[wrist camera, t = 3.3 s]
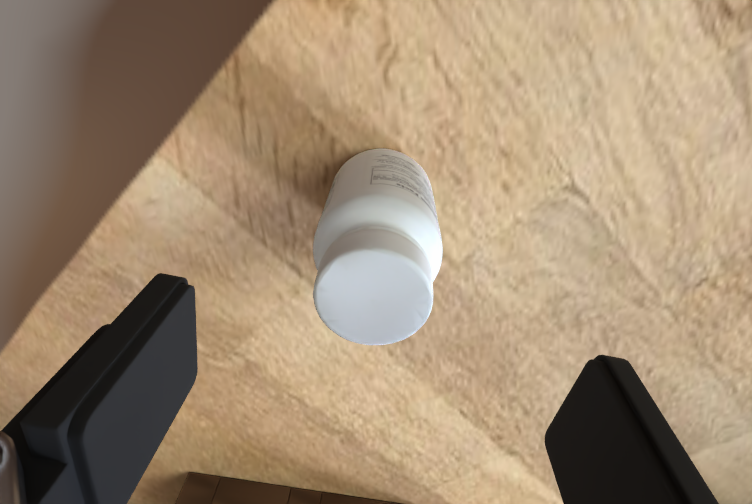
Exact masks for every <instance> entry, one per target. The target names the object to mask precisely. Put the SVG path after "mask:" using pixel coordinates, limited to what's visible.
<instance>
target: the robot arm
mask: <svg viewBox="0 0 752 504" xmlns="http://www.w3.org/2000/svg"><path fill="white" fill-rule="evenodd" d="M196 376H197V340H196V310H195V289H194V286H191V285H188V281H187V279H186V278H183V277H178V276H172V275H167V274H162V273H160V274H157V275H156V276H155V277H154V278H153V279H152V280H151V281H150V282H149V283H148V284H147V285H146V287H145V288H144V289H143V290H142V291H141V292H140V293H139V294H138V295H137V296H136V297H135V298H134V299H133V301H132V302H131V303H130V304H129V305H128V306H127V307H126V308H125V309H124V310H123V311H122V312H121V313H120V315H119V316H118V317H117V318H116V319H115V320H114V321H113V322H112V323H111V324H107V325H104V326H102V327H101V328H99V329H98V330H97V331H96V332H95V333H94V334H93V335H92V336H91V337H90V338H89V339H88V340H87V341H86V342H85V343H84V345H83V346H82V347H81V348H80V349H79V350H78V351H77V352H76V353H75V354H74V355H73V356H72V357H71V358H70V359H69V360H68V361H67V362H66V363H65V364H64V366H63V367H62V368H61V369H60V370H59V371H58V372H57V373H56V374H55V375H54V376H53V377H52V378H51V379H50V380H49V381H48V382H47V383H46V384H45V385H44V387H43V388H42V389H41V390H40V391H39V392H38V393H37V394H36V395H35V396H34V397H33V398H32V399H31V400H30V401H29V402H28V403H27V404H26V405H25V406H24V408H23V409H22V410H21V411H20V412H19V413H18V414H17V415H16V416H15V417H14V418H13V419H12V420H11V421H10V422H9V423H8V424H7V425H6V426H5V427H4V429H3V430H2V431H0V504H127V502H128V501H129V499H130V497H131V495H132V493H133V492H134V490H135V488H136V486H137V484H138V483H139V481H140V479H141V477H142V476H143V474H144V472H145V470H146V468H147V467H148V465H149V463H150V461H151V459H152V458H153V456H154V454H155V452H156V451H157V449H158V447H159V445H160V443H161V442H162V440H163V438H164V436H165V434H166V433H167V431H168V429H169V427H170V426H171V424H172V422H173V420H174V418H175V417H176V415H177V413H178V411H179V409H180V408H181V406H182V404H183V402H184V401H185V399H186V397H187V395H188V393H189V392H190V390H191V388H192V386H193V384H194V382H195V379H196ZM545 446H546V450H547V453H548V456H549V459H550V462H551V465H552V468H553V472H554V475H555V478H556V481H557V484H558V487H559V490H560V493H561V497H562V500H563V503H564V504H719V503H718V502H717V500H716V499H715V497H714V496H713V494H712V492H711V491H710V489H709V488H708V486H707V484H706V483H705V481H704V480H703V478H702V477H701V475H700V473H699V472H698V470H697V469H696V467H695V465H694V464H693V462H692V461H691V459H690V458H689V456H688V454H687V453H686V451H685V450H684V448H683V446H682V445H681V443H680V442H679V440H678V439H677V437H676V435H675V434H674V432H673V431H672V429H671V427H670V426H669V424H668V423H667V421H666V420H665V418H664V416H663V415H662V413H661V412H660V410H659V408H658V407H657V405H656V404H655V402H654V401H653V399H652V397H651V396H650V394H649V393H648V391H647V389H646V388H645V386H644V385H643V383H642V382H641V380H640V378H639V377H638V375H637V374H636V372H635V371H634V369H633V367H632V366H631V364H630V363H629V362H628V361H627V360H625V359H621V358H616V357H611V356H605V355H598V356H597V357H596V358H595V359H594V360H589V361H588V362H587V363H586V365H585V367H584V368H583V370H582V372H581V373H580V375H579V377H578V379H577V380H576V382H575V384H574V385H573V387H572V389H571V390H570V392H569V394H568V395H567V397H566V399H565V400H564V402H563V404H562V406H561V407H560V409H559V411H558V412H557V414H556V416H555V417H554V419H553V421H552V422H551V424H550V426H549V427H548V429H547V431H546V434H545Z"/></svg>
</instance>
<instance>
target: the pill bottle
mask: <svg viewBox="0 0 752 504" xmlns="http://www.w3.org/2000/svg"><path fill="white" fill-rule="evenodd" d="M442 252H443V250H442V239H441V233H440V229H439V224H438V219H437V213H436V208H435V202H434V197H433V192H432V188H431V184H430V181H429V179H428V176H427V175H426V173H425V171H424V170H423V168H422V167H421V166H420V165H419V164H418V163H417V162H416V161H415V160H413V159H412V158H411V157H409V156H407V155H406V154H403V153H401V152H399V151H395V150H391V149H385V148H379V149H371V150H367V151H364V152H361V153H359V154H357V155H355V156H353V157H352V158H350V159H349V160H348V161H347V162H346V163H344V165H343V166H342V167H341V168H340V170H339V171H338V173H337V174H336V176H335V178H334V181H333V184H332V187H331V189H330V192H329V195H328V198H327V201H326V204H325V207H324V209H323V212H322V215H321V218H320V220H319V223H318V226H317V230H316V233H315V236H314V242H313V255H314V261H315V264H316V268H317V270H318V273H317V276H316V280H315V285H314V291H313V298H314V304H315V307H316V310H317V312H318V314H319V317H320V318H321V319H322V321H323V322H324V323H325V324H326V326H327V327H328V328H329V329H330V330H332V331H333V332H335V333H336V334H337V335H339V336H340V337H342V338H344V339H346V340H349V341H352V342H355V343H359V344H365V345H385V344H391V343H395V342H398V341H401V340H403V339H405V338H407V337H409V336H411V335H412V334H414V333H415V332H416V331H417V330H418V329H420V327H421V326H423V324H424V323H425V322H426V320H427V318H428V317H429V314H430V312H431V309H432V304H433V281H434V279H435V277H436V276H437V274H438V271H439V268H440V265H441V261H442Z"/></svg>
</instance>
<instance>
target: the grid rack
mask: <svg viewBox="0 0 752 504" xmlns="http://www.w3.org/2000/svg"><path fill="white" fill-rule="evenodd" d="M175 504H399V503H393V502H385V501H378V500H372V499H365V498H358V497H352V496H345V495H339V494H332V493H325V492H322V493H321V492H317V491H311V490H304V489H297V488H290V487H285V486H279V485H272V484H265V483H259V482H252V481H245V480H239V479H232V478H225V477H218V476H212V475H205V474H198V473H192V472H189V474H188V476H187V478H186V480H185V483H184V485H183V487H182V489H181V492H180V494H179V496H178V498H177V501H176V503H175Z"/></svg>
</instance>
